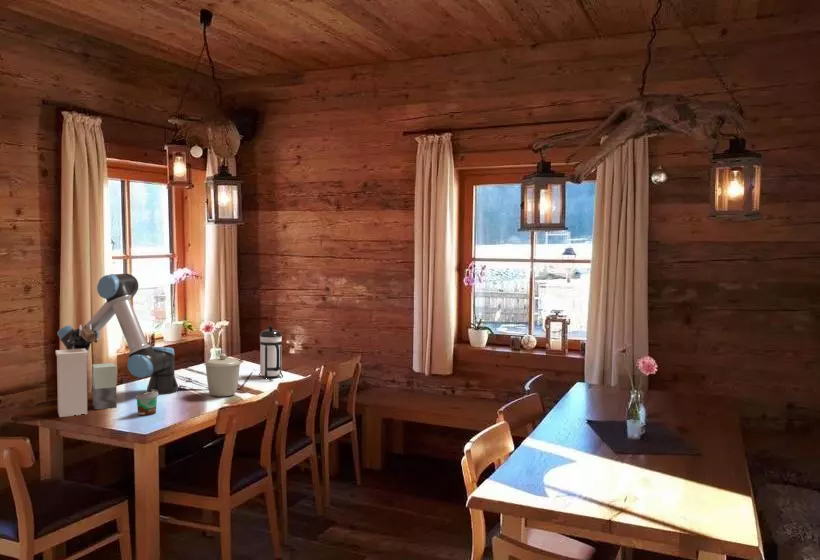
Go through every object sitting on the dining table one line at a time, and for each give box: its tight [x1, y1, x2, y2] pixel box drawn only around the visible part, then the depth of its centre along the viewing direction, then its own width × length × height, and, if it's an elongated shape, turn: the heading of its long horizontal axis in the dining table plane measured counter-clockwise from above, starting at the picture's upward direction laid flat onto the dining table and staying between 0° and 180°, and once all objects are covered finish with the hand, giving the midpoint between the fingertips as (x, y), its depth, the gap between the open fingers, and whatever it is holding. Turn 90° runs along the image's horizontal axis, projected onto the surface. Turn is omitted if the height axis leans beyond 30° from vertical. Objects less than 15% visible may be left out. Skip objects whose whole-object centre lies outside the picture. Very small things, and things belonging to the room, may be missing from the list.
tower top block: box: [91, 362, 117, 389], centre depth 311 cm, size 9×10×10 cm
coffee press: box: [258, 325, 284, 380], centre depth 383 cm, size 17×16×30 cm
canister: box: [204, 353, 242, 398], centre depth 338 cm, size 18×18×21 cm
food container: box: [135, 389, 160, 417], centre depth 300 cm, size 12×6×10 cm, turn 168°
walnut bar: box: [81, 326, 96, 343], centre depth 311 cm, size 4×28×4 cm, turn 32°
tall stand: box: [55, 349, 89, 418], centre depth 299 cm, size 12×12×28 cm
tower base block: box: [92, 385, 118, 410], centre depth 312 cm, size 9×10×10 cm
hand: (85, 327), depth 315 cm, fingers closed on walnut bar, 3 cm apart
